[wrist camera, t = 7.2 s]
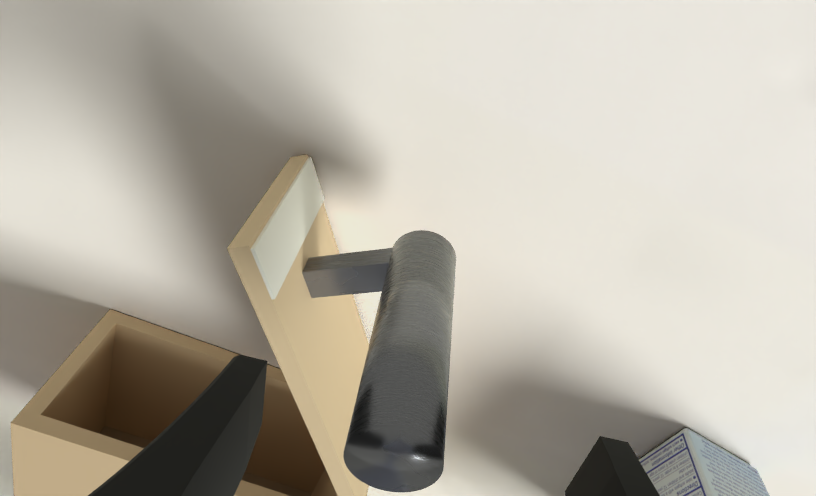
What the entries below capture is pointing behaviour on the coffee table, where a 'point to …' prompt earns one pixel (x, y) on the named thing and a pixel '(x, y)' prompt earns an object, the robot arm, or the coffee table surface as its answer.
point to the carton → (147, 414)
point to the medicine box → (699, 469)
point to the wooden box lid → (353, 335)
